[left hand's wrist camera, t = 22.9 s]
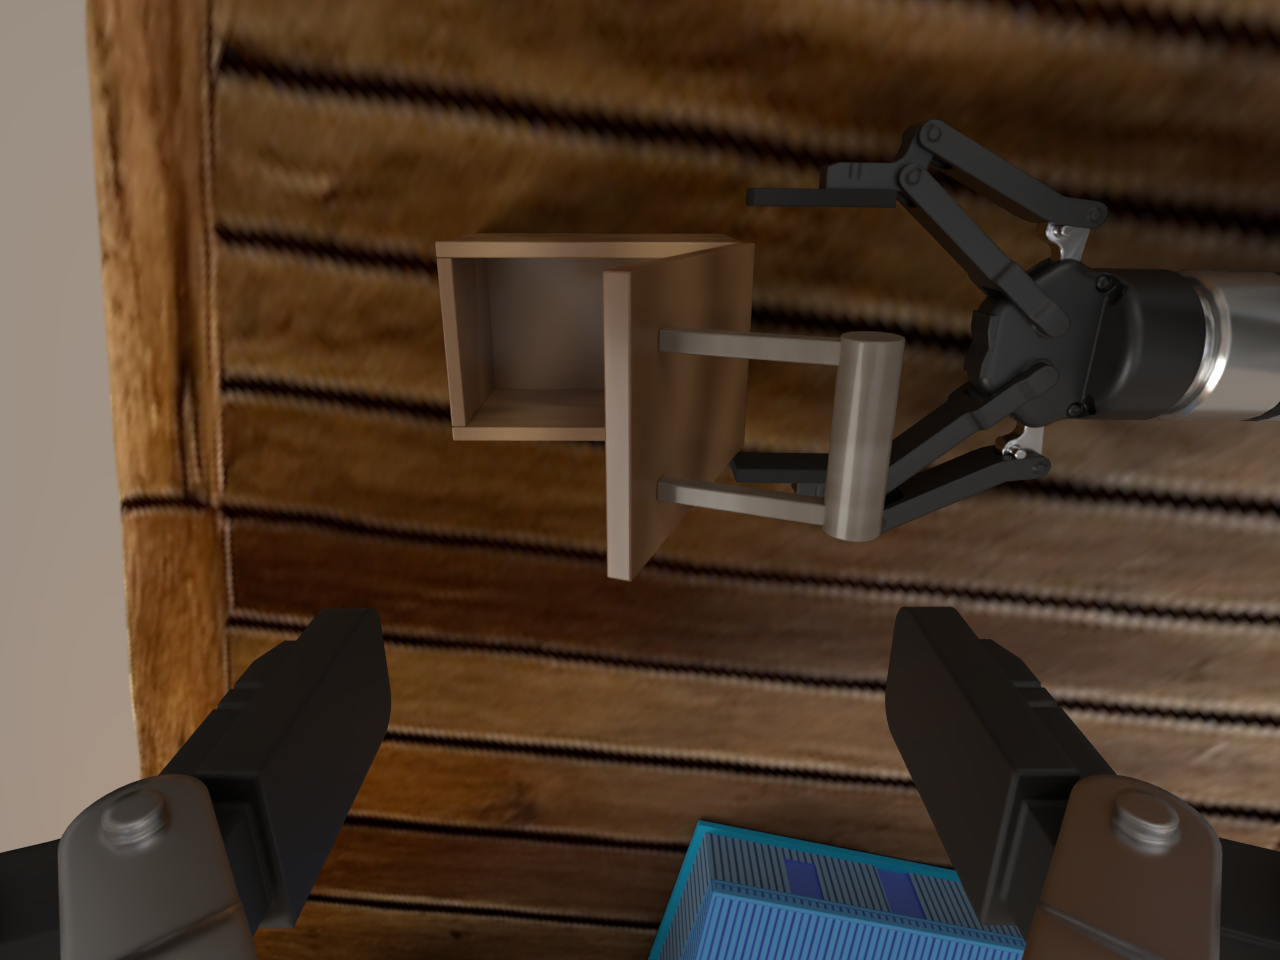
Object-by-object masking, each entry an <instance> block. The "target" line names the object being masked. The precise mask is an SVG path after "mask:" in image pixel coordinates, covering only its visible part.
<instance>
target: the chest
mask: <svg viewBox="0 0 1280 960" xmlns="http://www.w3.org/2000/svg"><path fill="white" fill-rule="evenodd" d="M734 243H744V242H741V241H739V240H737V239H734V238H732V237H729V236H727V235H725V234H575V233H474V234H470V235H465V236H460V237H455V238H450V239H445V240H440V241H436V243H435V245H436V256H437V257H438V258H437V267H438V278H439V289H440V300H441V311H442V322H443V333H444V344H445V355H446V366H447V377H448V388H449V399H450V410H451V421H452V426H453V427H452V432H453V440H500V441H605V392H604V326H603V271H604V270H607V269H612V268H616V267H621V266H626V265H631V264H636V263H641V262H646V261H651V260H656V259H660V258H665V257H670V256H675V255H680V254H685V253H690V252H695V251H700V250H704V249H709V248H714V247H719V246H724V245H729V244H734Z"/></svg>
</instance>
